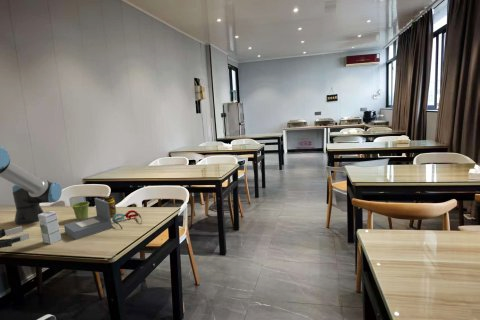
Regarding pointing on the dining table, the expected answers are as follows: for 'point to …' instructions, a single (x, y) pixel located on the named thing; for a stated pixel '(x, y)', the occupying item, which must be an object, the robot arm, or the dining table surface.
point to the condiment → (111, 205)
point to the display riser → (91, 222)
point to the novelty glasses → (126, 216)
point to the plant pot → (81, 210)
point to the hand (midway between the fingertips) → (25, 232)
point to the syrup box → (49, 227)
